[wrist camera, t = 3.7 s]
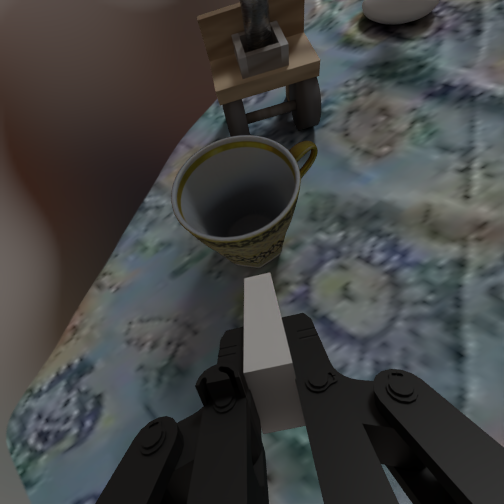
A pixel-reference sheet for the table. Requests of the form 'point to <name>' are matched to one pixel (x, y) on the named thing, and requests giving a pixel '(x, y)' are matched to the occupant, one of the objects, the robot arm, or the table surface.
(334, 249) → the table surface
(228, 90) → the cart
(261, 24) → the pin
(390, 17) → the flower in vase
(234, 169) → the ceramic cup
